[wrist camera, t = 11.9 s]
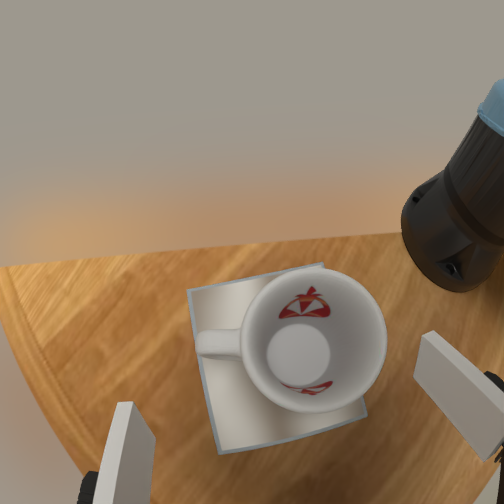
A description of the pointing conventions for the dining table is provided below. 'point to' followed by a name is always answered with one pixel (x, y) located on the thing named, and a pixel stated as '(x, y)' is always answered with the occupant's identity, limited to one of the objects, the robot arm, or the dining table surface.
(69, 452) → the dining table surface
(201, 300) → the grey flat block
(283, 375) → the cup
